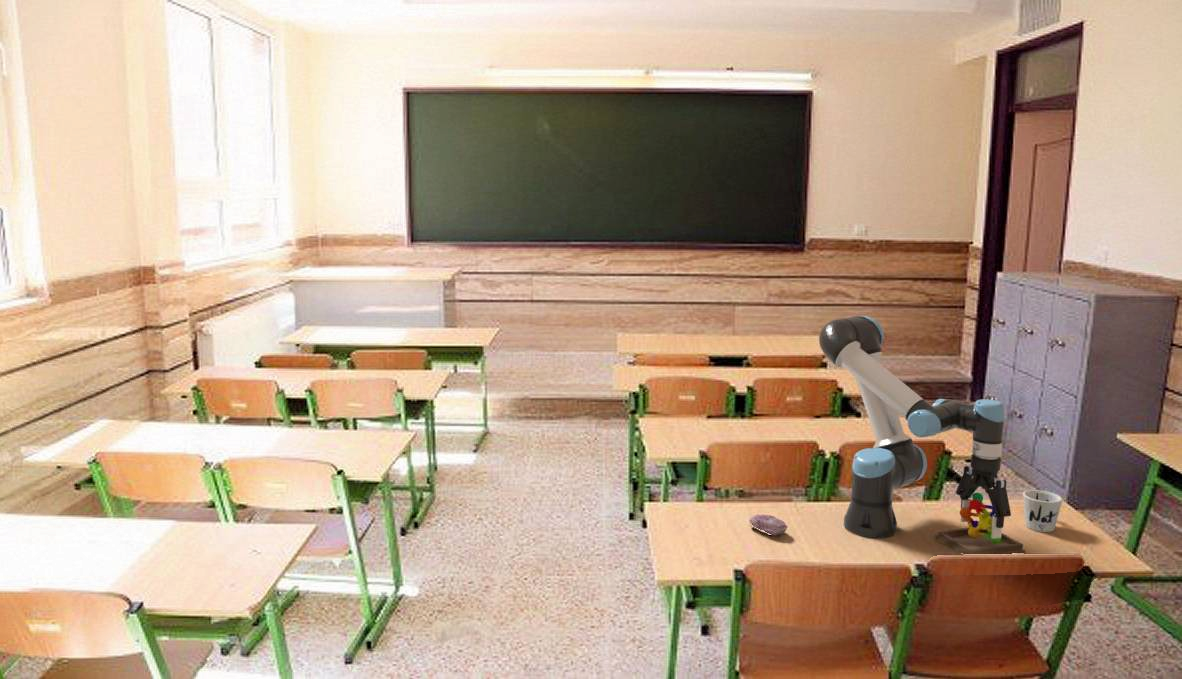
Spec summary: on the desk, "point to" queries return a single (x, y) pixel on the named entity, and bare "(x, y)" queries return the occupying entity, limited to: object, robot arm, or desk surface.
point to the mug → (1041, 510)
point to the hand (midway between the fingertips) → (980, 529)
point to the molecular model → (984, 517)
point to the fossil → (768, 524)
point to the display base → (978, 543)
